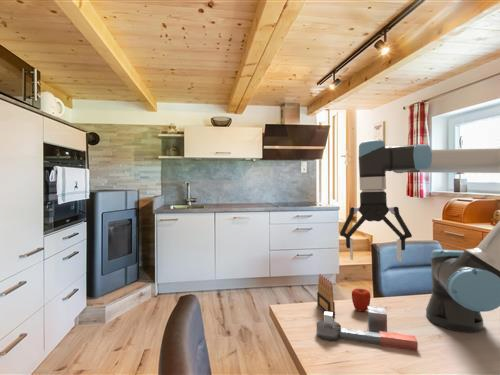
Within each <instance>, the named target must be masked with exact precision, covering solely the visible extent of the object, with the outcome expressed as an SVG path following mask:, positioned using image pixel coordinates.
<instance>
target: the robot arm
mask: <svg viewBox="0 0 500 375" xmlns="http://www.w3.org/2000/svg"><path fill="white" fill-rule="evenodd" d="M358 168H359V169H358V170H359V171H358V172H359V190H360V193H359V207H355V206H351V207H350V208H349V214H348V216H347V218H346V219H345V221H344V224H343V225H342V228H341V230H340V233H339V236H341V237H343V238H345V246H346V249H349V253H350V256H349V258H350V260H354V247H353V245H354V243H353V237H352V235H353V234H354V233H355V232H356V231H357V230H358V229H359V228H360V227H361V226H362V224H363V223H364V222H367V221H368V222H381V221H383V222H384V223H385V224H386V225H387V226H388V227H389V228H390V229H391V230H392V231H393V232H394V233H395V235H396V236H398V238H396V254H397V256H396V257H397V258H396V260H397V261H398V262H399V263H402V261H403V258H402V251H405V250H406V240H407V239H409V238H412V237H413V235H412V233H411V231H410V230H409V228H408V226H407V224H406V223H405V221H404V219H403V217H402V216H401V215H400V210H399V207H398V206H396V205H393V206H390V207H388V203H387V192H386V191H385V190H387V178H386V176H387V175H386V172H394V173H395V174H405V173H407V174H410V173H414V174H415V173H440V174H441V173H451V174H452V173H454V174H455V173H457V174H458V173H460V174H462V173H463V174H464V173H465V174H466V173H468V174H470V173H471V174H472V173H473V174H475V173H477V174H479V173H481V174H482V173H483V174H500V148H459V149H456V148H455V149H449V148H448V149H432V148H431V145H429V144H423V143H422V144H421V143H420V144H419V143H415V144H409V145H408V144H407V145H398V146H397V145H395V146H387V145H386V144H385V141H384V140H382V139H373V140H366V141H362V142H361V143H360V144H359V146H358ZM358 212H359V213H360V214H361V217H360V218H359V219H358V220H357V221H356V222H355V224H353V226H352V227H350V229H349V231H348V232H347V229H348V228H349V225H350V224H351V222H352V220H353V218H354V215H356V214H357V213H358ZM389 212H390V213H391V214H392V215H394V217H395V219H396V221H397V223H398V224H399V226H400V228H401V229H402V231H403V233H402V232H401V231H400V230H399V229H398V228H397V227H396V226H395V224H394V223H392V222H391V220H389V218H388V217H386V215H387V214H388V213H389ZM430 261H431V262H430V264H431V266H430V267H431V295H430V298H429V300H428V303H427V305H426V309H425V316H426V318H427V320H429V321H430V322H432V323H433V324H435V325H437V326H438V327H442V328H444V329H448V330H451V331H456V332H461V333H462V332H464V333H476V332H477V333H478V332H481V331H483V330H484V327H485V326H484V318H483V315H482V313H481V312H483V313H484V312H491V311H494V310H495V309H498V308H500V220H499V221H498V222H497V223H496V224H495V225H494V227H492V229H491V230H490V231H489V232H488V233H487V235H486V236H485V237H484V238H483V239H482V240H481V241H480V243H478V245H477V246H476V247H474V248H466V249H465V250H459V249H458V250H457V249H456V250H455V249H443V248H442V249H441V248H440V249H438V248H437V249H434V250H432V251H431V257H430Z"/></svg>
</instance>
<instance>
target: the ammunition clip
mask: <svg viewBox="0 0 500 375" xmlns="http://www.w3.org/2000/svg"><path fill="white" fill-rule="evenodd" d="M333 288H334V287H333V283H332V281H330V280H329V279H328V278H326V277H325V276H323V274H321V273H319V275H318V282H317V293H316V294H317V296H316V297H317V298H316V300H317V301H316V302H317V305H316V306H318V308H319V309H320V310H321V311H323V313H324V312H325V311H326V312H333V318H335V317H336V311H335V305H336V304H335V300H334V289H333Z"/></svg>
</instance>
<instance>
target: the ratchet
mask: <svg viewBox="0 0 500 375" xmlns="http://www.w3.org/2000/svg"><path fill="white" fill-rule="evenodd" d="M316 336H317V337H318V338H319V339H320V340H322V341H325V342H330V343H331V342H338V341H340V340H342V341H350V342H355V343H363V344H371V345H375V346H380V347H386V348H391V349H392V348H393V349H401V350H405V351H406V350H407V351H413V352H419V351H418V349H419V348H418V344H419V343H418V340H417V338H416V336H415V335H412V334H404V333H397V332H392V331H391V332H390V331H387V332H383V331H379V333H377V332H370V331H369V330H362V329H355V328H354V329H353V328H347V327H342V326H341V324H340V323H339V322H338V321H335V320H334V317H333V312H326V311H325V312H324V311H323V319H321V320H318V321H316Z"/></svg>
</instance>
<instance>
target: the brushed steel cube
mask: <svg viewBox="0 0 500 375" xmlns="http://www.w3.org/2000/svg"><path fill="white" fill-rule="evenodd" d="M367 327H368V331H370V332H377V333H379V331H383V332H388V312H387V311H386V307H382V306H373V305H369V306H368V309H367Z"/></svg>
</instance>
